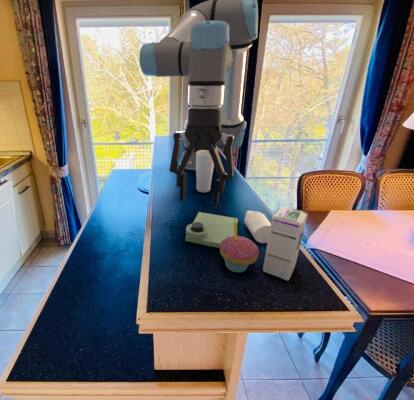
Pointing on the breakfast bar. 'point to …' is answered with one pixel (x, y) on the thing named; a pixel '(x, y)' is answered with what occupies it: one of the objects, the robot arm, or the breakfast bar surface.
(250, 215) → the roll
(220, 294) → the breakfast bar surface
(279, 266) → the syrup box
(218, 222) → the scale
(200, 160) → the drinking glass
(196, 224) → the button
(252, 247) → the cupcake
